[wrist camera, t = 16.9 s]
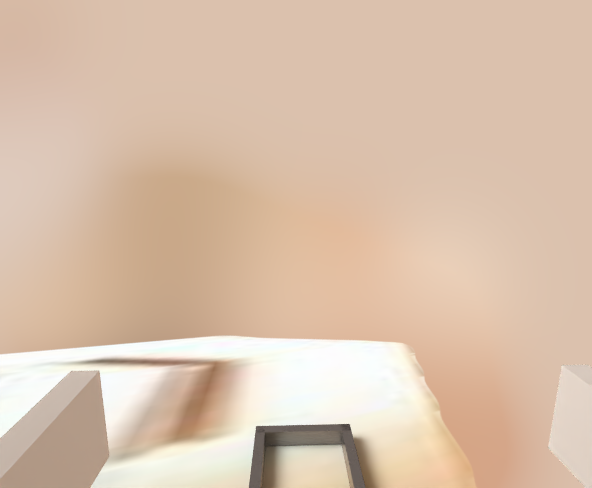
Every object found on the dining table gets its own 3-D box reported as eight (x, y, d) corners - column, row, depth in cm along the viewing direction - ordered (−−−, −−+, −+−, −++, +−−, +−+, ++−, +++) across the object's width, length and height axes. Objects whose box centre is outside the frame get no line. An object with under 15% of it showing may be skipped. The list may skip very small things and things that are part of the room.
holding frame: (245, 538, 36) (244, 521, 35) (256, 439, 49) (256, 426, 48) (372, 534, 36) (372, 517, 36) (349, 437, 49) (349, 424, 49)
